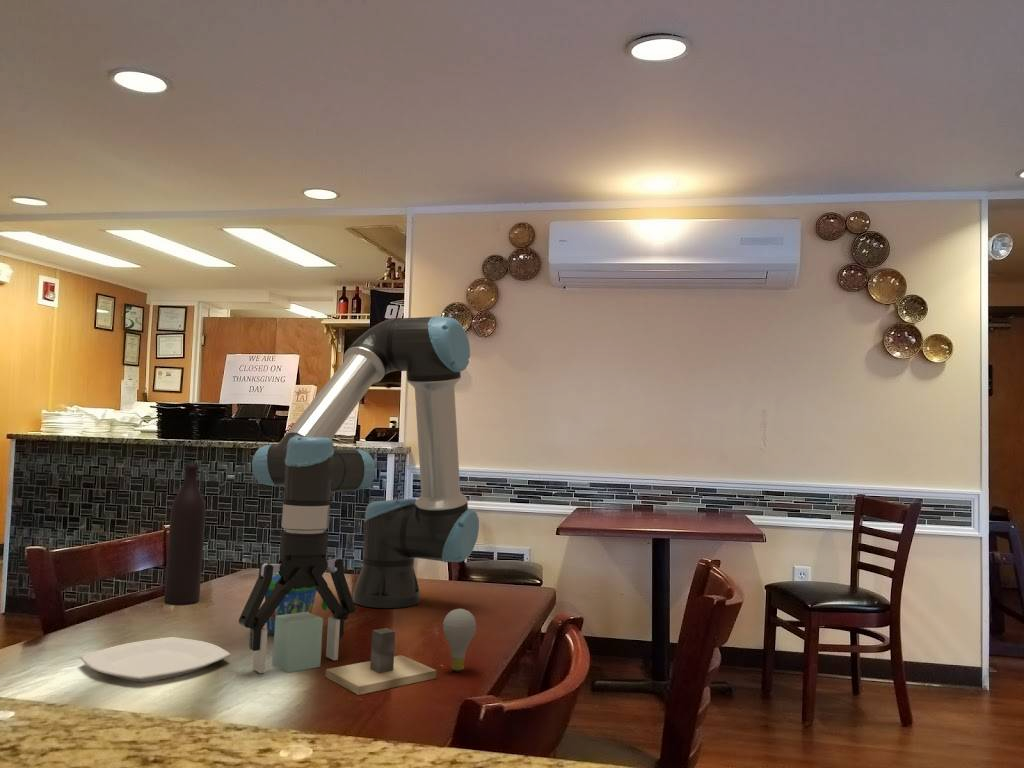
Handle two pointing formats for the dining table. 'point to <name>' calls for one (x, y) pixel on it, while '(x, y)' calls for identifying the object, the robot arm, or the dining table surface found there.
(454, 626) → the light bulb
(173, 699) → the dining table surface
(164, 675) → the plate
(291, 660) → the grey-green block
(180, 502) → the wine bottle
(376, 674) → the stand
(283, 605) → the snack cup
